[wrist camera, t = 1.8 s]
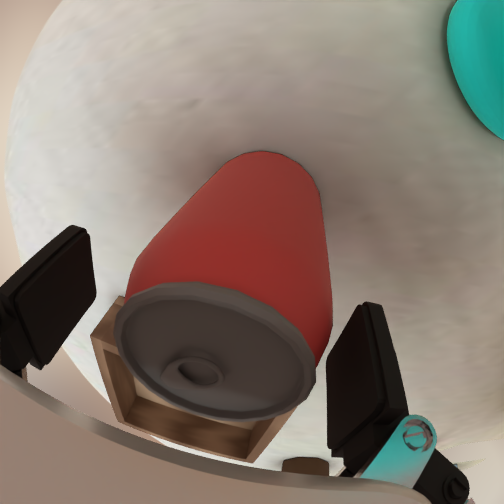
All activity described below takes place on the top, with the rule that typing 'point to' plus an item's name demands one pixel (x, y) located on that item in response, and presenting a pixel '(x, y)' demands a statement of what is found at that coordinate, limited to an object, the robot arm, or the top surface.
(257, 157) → the beer can
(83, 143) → the top surface
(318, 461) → the beer bottle
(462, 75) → the donuts
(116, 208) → the top surface
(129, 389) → the walnut box
